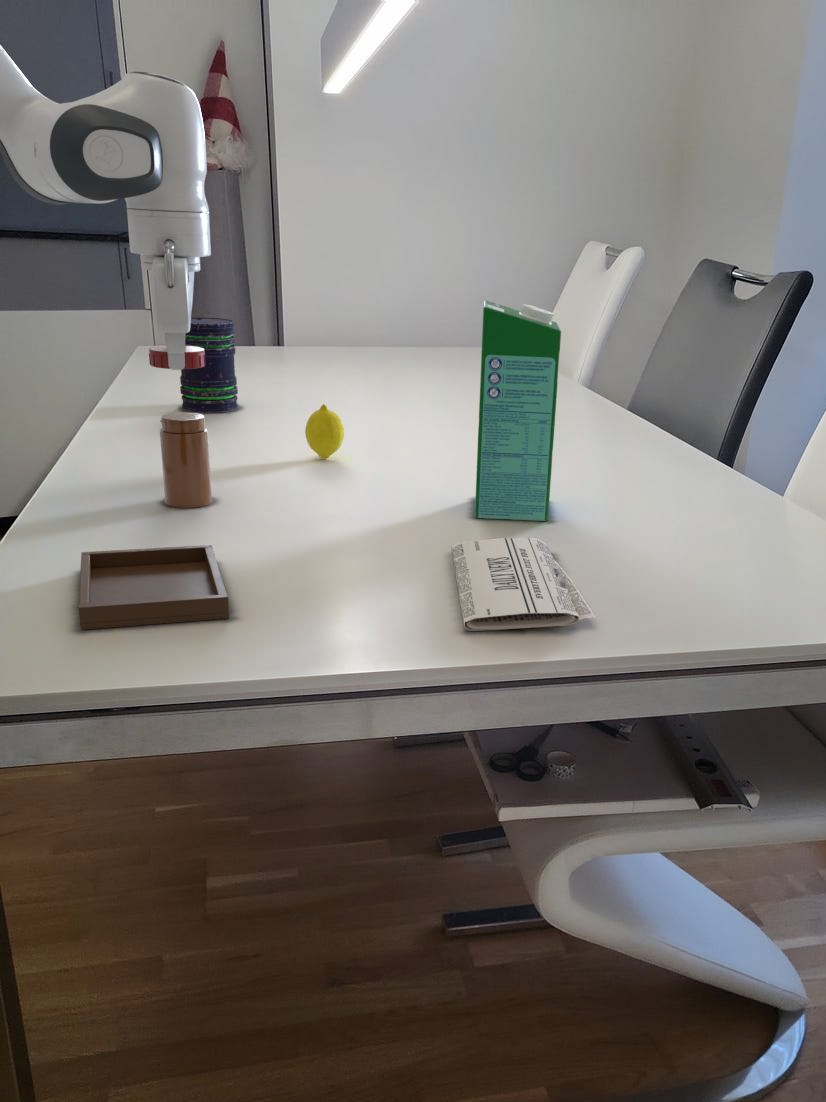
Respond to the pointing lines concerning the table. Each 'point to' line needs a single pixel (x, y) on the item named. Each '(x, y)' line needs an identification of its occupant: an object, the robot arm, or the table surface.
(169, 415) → the jar
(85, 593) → the tray
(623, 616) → the table surface
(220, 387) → the dark purple barrel
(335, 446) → the fruit
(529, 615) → the newspaper
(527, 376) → the milk carton
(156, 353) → the lid
